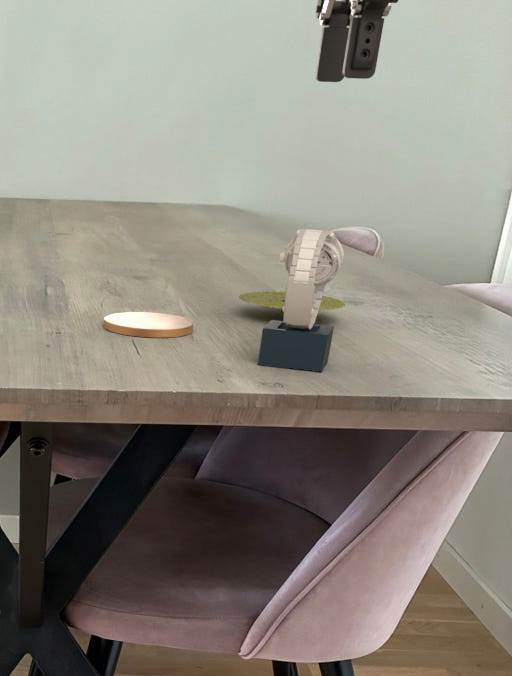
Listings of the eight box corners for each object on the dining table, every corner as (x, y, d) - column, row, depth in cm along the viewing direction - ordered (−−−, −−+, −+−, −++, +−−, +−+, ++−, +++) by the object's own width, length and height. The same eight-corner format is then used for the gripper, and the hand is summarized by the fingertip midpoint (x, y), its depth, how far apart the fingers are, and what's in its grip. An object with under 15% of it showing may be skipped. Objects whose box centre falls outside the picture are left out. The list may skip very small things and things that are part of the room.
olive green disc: (348, 331, 98) (351, 311, 97) (238, 324, 100) (240, 304, 99) (335, 312, 108) (338, 294, 107) (235, 305, 109) (237, 287, 108)
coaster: (187, 321, 100) (188, 313, 100) (197, 339, 92) (198, 331, 92) (102, 318, 100) (102, 310, 100) (104, 335, 92) (105, 327, 92)
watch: (330, 357, 87) (354, 227, 82) (318, 376, 81) (343, 236, 75) (268, 350, 89) (288, 223, 84) (252, 368, 82) (272, 231, 77)
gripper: (480, -223, 59) (421, 79, 67) (408, -165, 72) (365, 84, 80) (360, -226, 59) (315, 76, 67) (308, -168, 72) (275, 81, 80)
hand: (342, 80), depth 73 cm, fingers open, 8 cm apart
